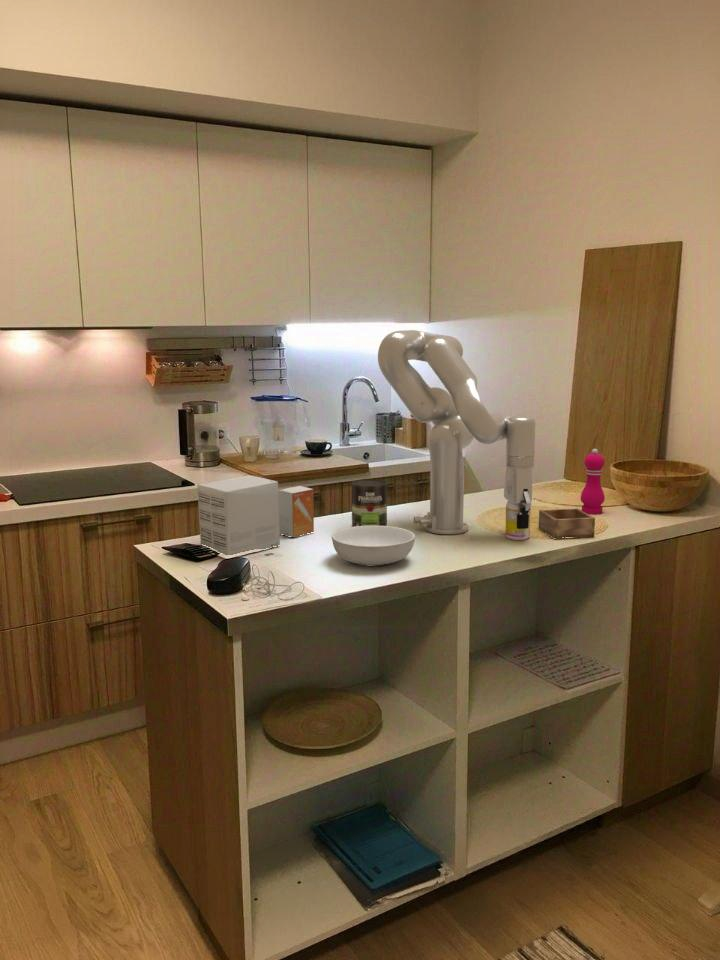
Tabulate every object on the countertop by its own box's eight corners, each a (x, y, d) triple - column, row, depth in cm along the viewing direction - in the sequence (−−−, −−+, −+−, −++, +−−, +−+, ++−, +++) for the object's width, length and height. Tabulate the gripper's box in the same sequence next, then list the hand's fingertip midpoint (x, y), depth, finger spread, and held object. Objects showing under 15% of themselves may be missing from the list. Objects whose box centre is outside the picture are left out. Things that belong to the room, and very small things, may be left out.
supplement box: (251, 537, 225) (249, 474, 221) (281, 547, 216) (279, 481, 212) (198, 550, 213) (195, 483, 210) (228, 561, 204) (225, 491, 200)
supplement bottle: (515, 533, 228) (517, 488, 225) (534, 537, 223) (536, 492, 220) (500, 537, 224) (501, 492, 221) (518, 542, 219) (520, 496, 216)
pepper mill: (606, 514, 248) (610, 450, 244) (583, 514, 248) (586, 450, 244) (600, 509, 255) (603, 446, 251) (577, 509, 255) (580, 446, 251)
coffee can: (388, 534, 227) (388, 485, 224) (352, 535, 227) (351, 486, 224) (386, 525, 237) (386, 478, 234) (351, 526, 237) (350, 479, 234)
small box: (293, 538, 224) (292, 493, 221) (278, 534, 228) (277, 489, 225) (314, 533, 229) (313, 488, 227) (300, 529, 234) (299, 485, 231)
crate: (554, 539, 221) (555, 520, 220) (538, 528, 232) (539, 510, 231) (594, 537, 223) (595, 518, 222) (576, 526, 234) (577, 508, 233)
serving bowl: (431, 560, 203) (432, 534, 202) (373, 579, 189) (373, 551, 187) (373, 544, 218) (373, 520, 216) (314, 561, 203) (314, 534, 202)
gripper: (496, 456, 227) (494, 518, 230) (517, 467, 210) (515, 533, 214) (521, 455, 228) (519, 516, 231) (545, 466, 211) (542, 532, 215)
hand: (517, 524), depth 222 cm, fingers closed on supplement bottle, 6 cm apart
